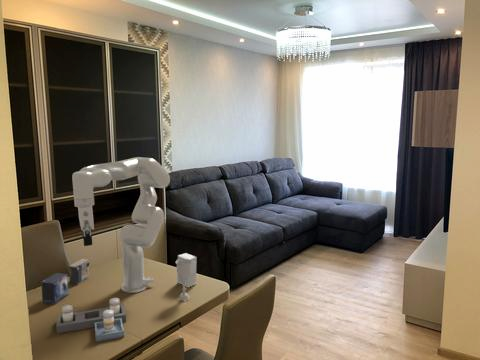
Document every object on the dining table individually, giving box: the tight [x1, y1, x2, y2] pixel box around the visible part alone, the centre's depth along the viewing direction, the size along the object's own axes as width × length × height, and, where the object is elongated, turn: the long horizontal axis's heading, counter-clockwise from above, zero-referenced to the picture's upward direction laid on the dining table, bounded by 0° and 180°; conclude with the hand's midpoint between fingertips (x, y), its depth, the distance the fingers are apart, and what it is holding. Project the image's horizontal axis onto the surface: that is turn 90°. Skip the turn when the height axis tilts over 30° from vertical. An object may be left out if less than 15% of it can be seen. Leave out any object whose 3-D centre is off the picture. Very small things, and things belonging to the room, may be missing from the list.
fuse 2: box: [108, 297, 121, 314], centre depth 167 cm, size 4×4×8 cm
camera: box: [68, 258, 90, 286], centre depth 203 cm, size 11×6×10 cm, turn 163°
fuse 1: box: [61, 304, 74, 323], centre depth 160 cm, size 4×4×8 cm
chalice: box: [175, 259, 191, 301], centre depth 184 cm, size 7×7×18 cm
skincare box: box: [176, 252, 198, 288], centre depth 199 cm, size 8×6×15 cm
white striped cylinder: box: [103, 310, 115, 333], centre depth 156 cm, size 4×4×8 cm
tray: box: [94, 318, 125, 343], centre depth 156 cm, size 10×10×2 cm
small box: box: [41, 272, 69, 306], centre depth 183 cm, size 11×6×10 cm, turn 168°
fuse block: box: [55, 304, 127, 334], centre depth 164 cm, size 26×9×3 cm, turn 111°
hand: (87, 241), depth 167 cm, fingers open, 9 cm apart
